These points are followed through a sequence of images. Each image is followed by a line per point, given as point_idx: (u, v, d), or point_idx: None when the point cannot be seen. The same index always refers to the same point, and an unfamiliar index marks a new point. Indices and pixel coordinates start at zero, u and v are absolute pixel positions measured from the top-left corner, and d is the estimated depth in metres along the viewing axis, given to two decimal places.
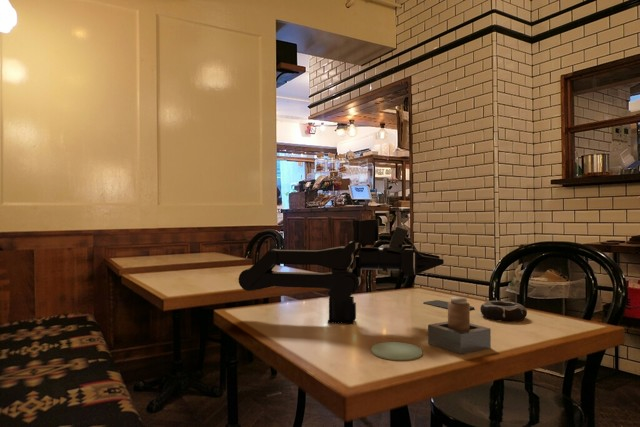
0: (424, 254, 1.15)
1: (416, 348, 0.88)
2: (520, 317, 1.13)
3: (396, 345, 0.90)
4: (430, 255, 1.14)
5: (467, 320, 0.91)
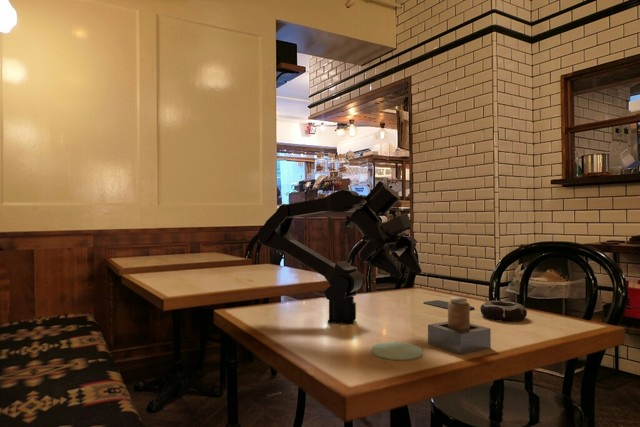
0: (412, 258, 1.07)
1: (416, 348, 0.88)
2: (520, 317, 1.13)
3: (396, 345, 0.90)
4: (415, 264, 1.06)
5: (467, 320, 0.91)
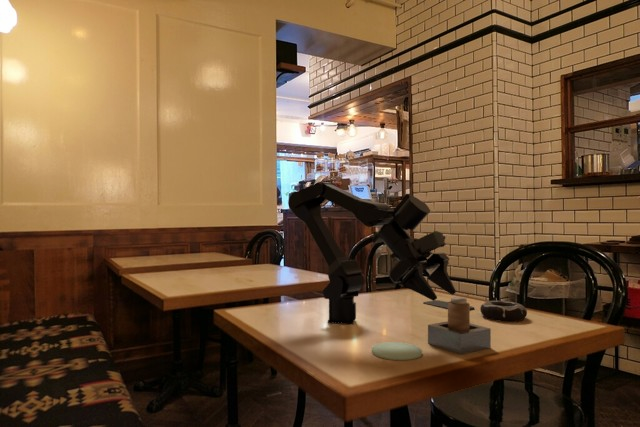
0: (445, 277, 0.99)
1: (416, 348, 0.88)
2: (520, 317, 1.13)
3: (396, 345, 0.90)
4: (449, 283, 0.99)
5: (467, 320, 0.91)
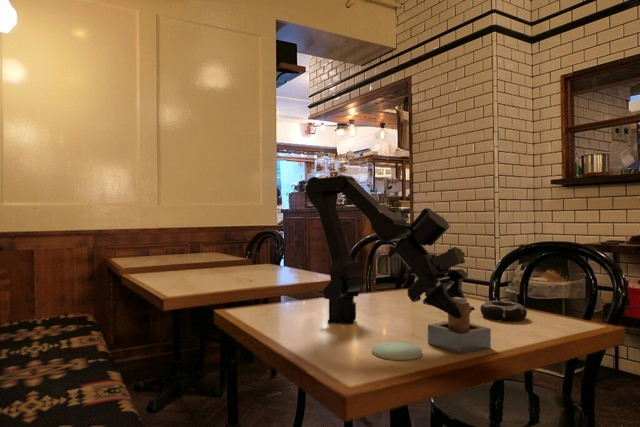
0: (460, 296, 0.95)
1: (416, 348, 0.88)
2: (520, 317, 1.13)
3: (396, 345, 0.90)
4: None
5: (467, 320, 0.91)
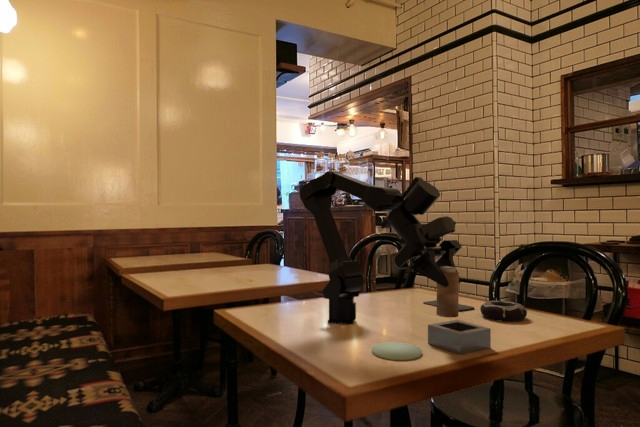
0: (450, 266, 0.93)
1: (416, 348, 0.88)
2: (520, 317, 1.13)
3: (396, 345, 0.90)
4: None
5: (455, 289, 0.89)
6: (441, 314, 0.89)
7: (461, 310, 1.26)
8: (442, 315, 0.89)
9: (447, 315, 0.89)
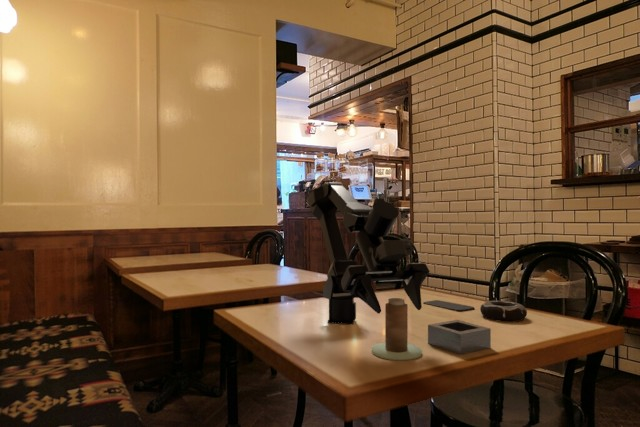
0: (414, 290, 0.90)
1: (416, 348, 0.88)
2: (520, 317, 1.13)
3: None
4: (416, 297, 0.89)
5: (399, 323, 0.85)
6: (386, 348, 0.87)
7: (461, 310, 1.26)
8: (387, 349, 0.87)
9: (391, 349, 0.86)
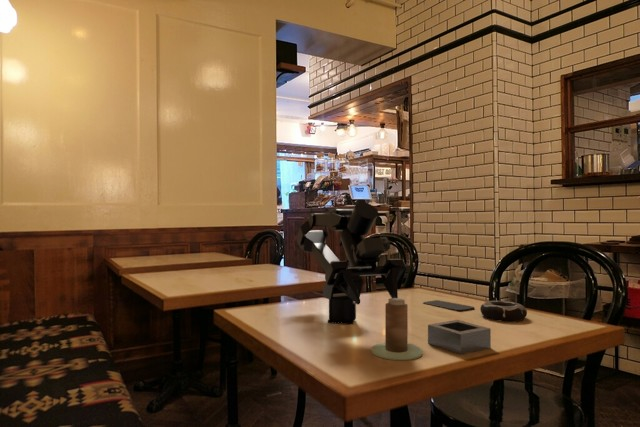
0: (392, 284, 0.99)
1: (416, 348, 0.88)
2: (520, 317, 1.13)
3: None
4: (393, 290, 0.98)
5: (399, 323, 0.85)
6: (386, 348, 0.87)
7: (461, 310, 1.26)
8: (387, 349, 0.87)
9: (391, 349, 0.86)
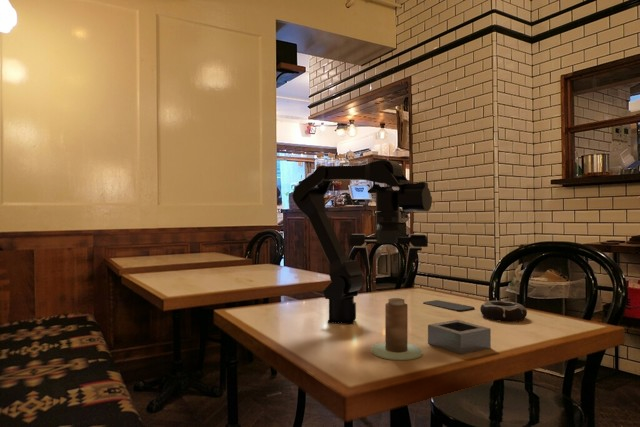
0: (407, 260, 1.04)
1: (416, 348, 0.88)
2: (520, 317, 1.13)
3: None
4: (406, 266, 1.04)
5: (399, 323, 0.85)
6: (386, 348, 0.87)
7: (461, 310, 1.26)
8: (387, 349, 0.87)
9: (391, 349, 0.86)
